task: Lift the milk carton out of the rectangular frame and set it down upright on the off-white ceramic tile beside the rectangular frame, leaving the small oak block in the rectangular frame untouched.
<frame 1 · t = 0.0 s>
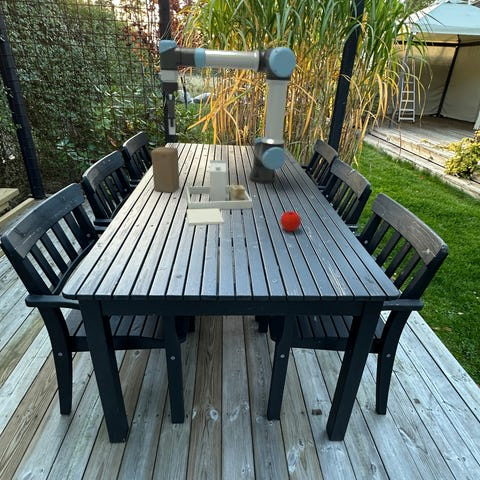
hand: (172, 131, 157), 28 cm above the table, fingers open, 13 cm apart
rectangular frame: (217, 200, 158), on the table
apple: (289, 230, 133), on the table
tile: (204, 217, 140), on the table
oak block: (237, 204, 155), resting in rectangular frame
milk carton: (217, 201, 158), resting in rectangular frame
wooden block: (167, 189, 169), on the table
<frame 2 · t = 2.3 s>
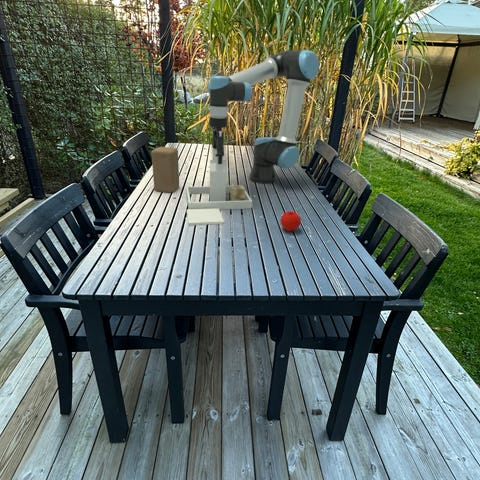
hand: (217, 167, 150), 16 cm above the table, fingers open, 13 cm apart
nothing on the table moved.
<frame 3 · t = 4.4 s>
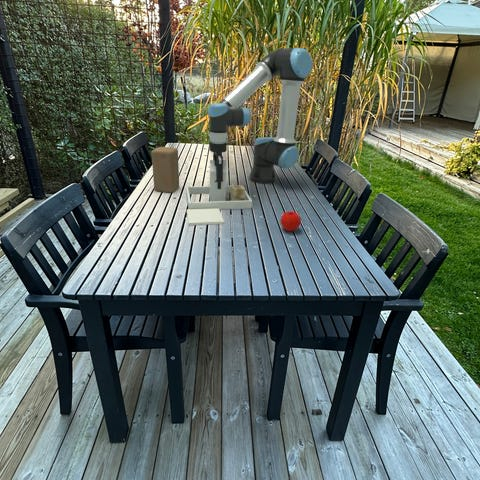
hand: (217, 192, 156), 4 cm above the table, fingers closed on milk carton, 7 cm apart
milk carton: (217, 201, 158), resting in rectangular frame, touching gripper
everything else where it was.
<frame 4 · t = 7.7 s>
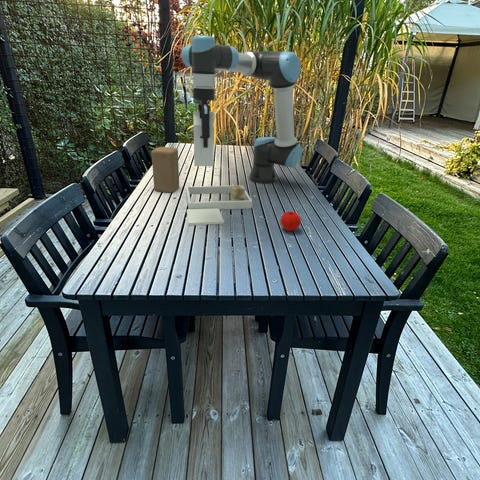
hand: (204, 153, 128), 27 cm above the table, fingers closed on milk carton, 7 cm apart
milk carton: (204, 164, 130), point 22 cm above the table, touching gripper
everything else where it was.
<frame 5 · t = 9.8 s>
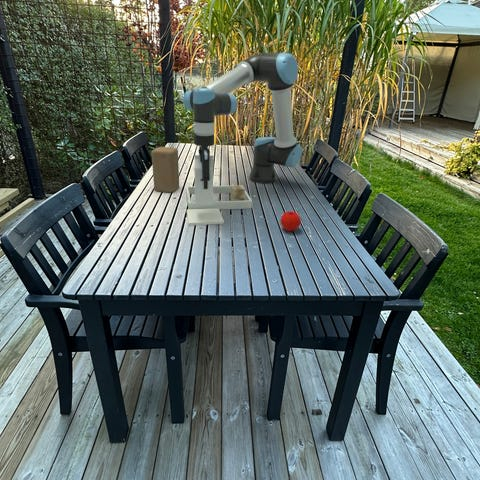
hand: (204, 192, 135), 11 cm above the table, fingers closed on milk carton, 7 cm apart
milk carton: (204, 202, 137), point 7 cm above the table, touching gripper
everything else where it was.
when the fingers open (6 cm above the table, at t = 11.5 s): milk carton stays where it is, resting on tile.
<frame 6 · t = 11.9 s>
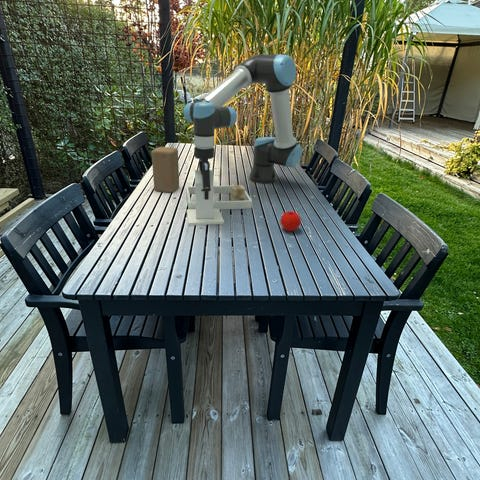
hand: (204, 200, 136), 7 cm above the table, fingers open, 12 cm apart
milk carton: (204, 215, 140), point 1 cm above the table, touching tile
everything else where it was.
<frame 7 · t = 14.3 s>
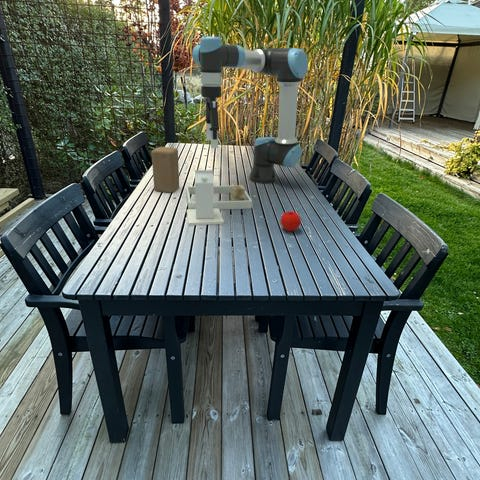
hand: (212, 143, 134), 28 cm above the table, fingers open, 13 cm apart
nothing on the table moved.
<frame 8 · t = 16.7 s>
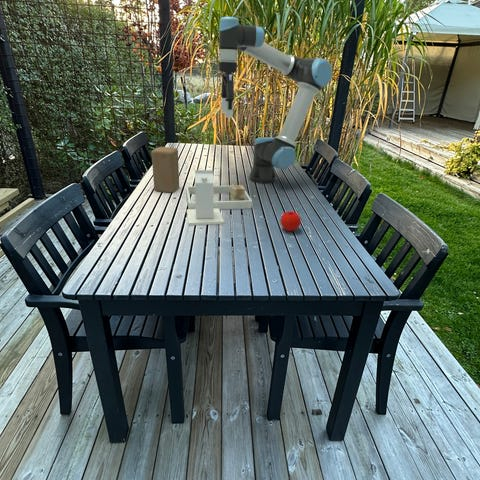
hand: (226, 115, 150), 37 cm above the table, fingers open, 13 cm apart
nothing on the table moved.
at the end: milk carton inside the target area on the tile (0.1 cm from its centre), point 0.8 cm above the tile's base; milk carton tilted 0°; the gripper is holding nothing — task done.
